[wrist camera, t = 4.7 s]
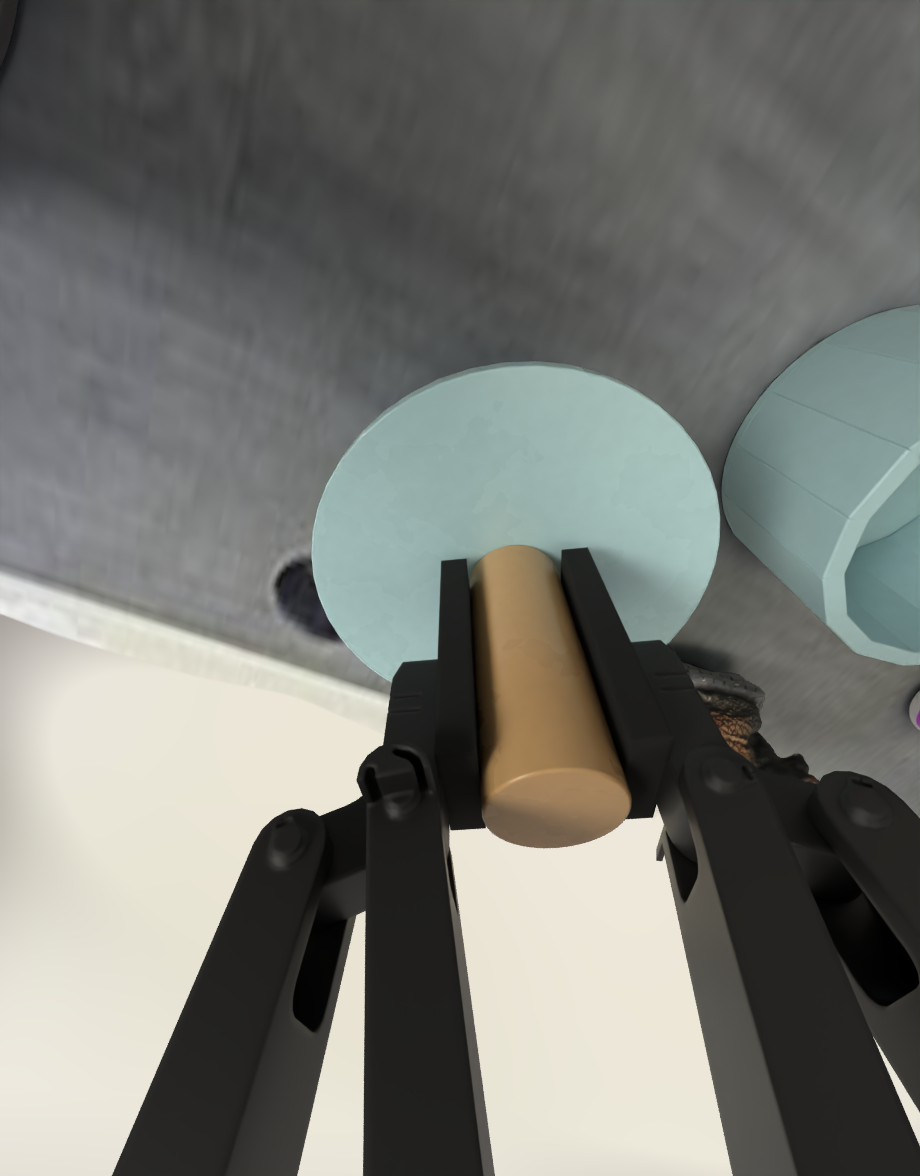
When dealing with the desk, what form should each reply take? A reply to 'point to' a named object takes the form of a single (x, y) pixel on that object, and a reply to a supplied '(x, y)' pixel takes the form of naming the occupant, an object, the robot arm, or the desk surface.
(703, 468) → the lid
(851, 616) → the bowl
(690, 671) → the brown striped lumpy figure
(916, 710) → the supplement bottle
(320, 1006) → the robot arm
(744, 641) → the desk surface
